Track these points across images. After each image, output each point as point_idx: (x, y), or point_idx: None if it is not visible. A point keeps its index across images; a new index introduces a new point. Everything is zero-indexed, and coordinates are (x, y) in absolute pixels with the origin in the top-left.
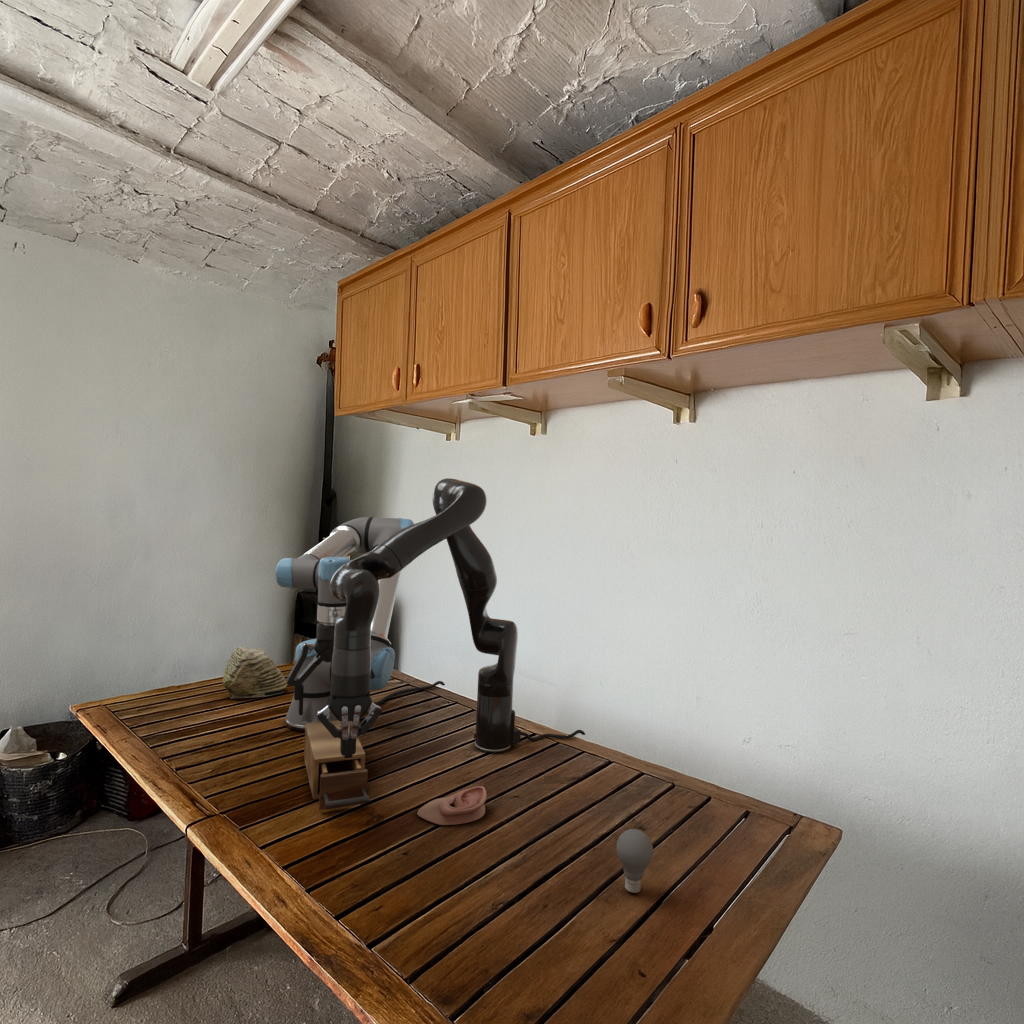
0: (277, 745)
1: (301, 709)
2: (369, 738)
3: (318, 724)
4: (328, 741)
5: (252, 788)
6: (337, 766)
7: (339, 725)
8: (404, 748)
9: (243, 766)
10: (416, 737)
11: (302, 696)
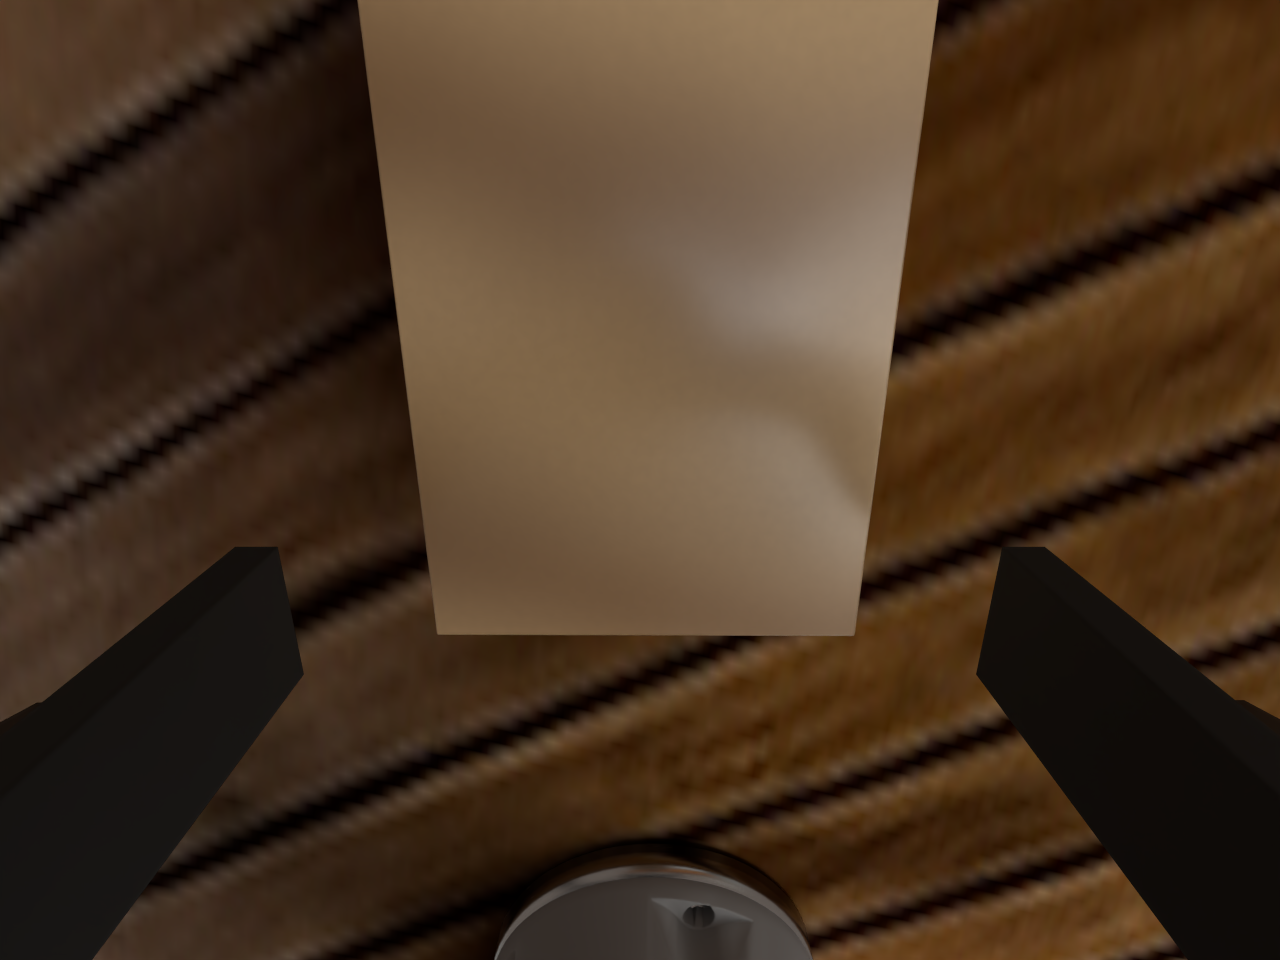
0: (899, 730)
1: (1062, 584)
2: (355, 693)
3: (742, 584)
4: (721, 43)
5: (1208, 118)
6: None
7: (546, 509)
8: (121, 488)
9: (1157, 496)
10: (46, 635)
11: (1203, 709)
